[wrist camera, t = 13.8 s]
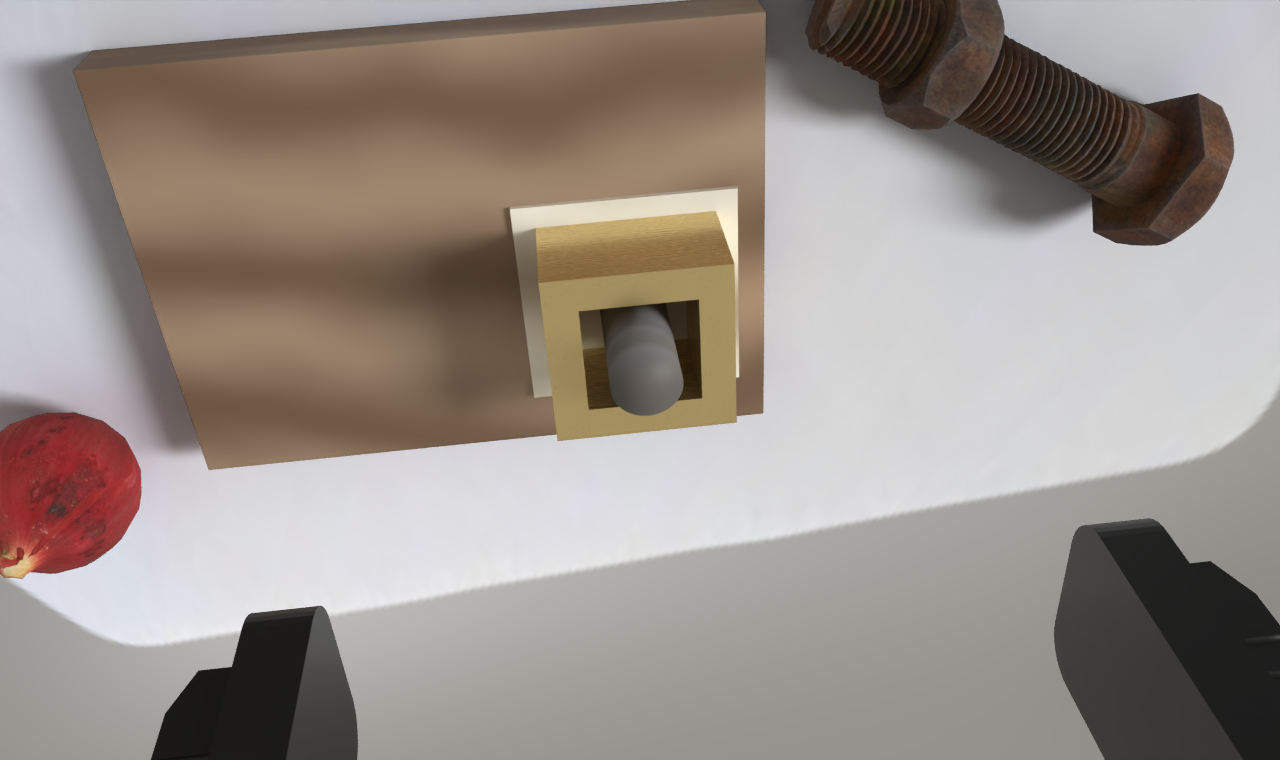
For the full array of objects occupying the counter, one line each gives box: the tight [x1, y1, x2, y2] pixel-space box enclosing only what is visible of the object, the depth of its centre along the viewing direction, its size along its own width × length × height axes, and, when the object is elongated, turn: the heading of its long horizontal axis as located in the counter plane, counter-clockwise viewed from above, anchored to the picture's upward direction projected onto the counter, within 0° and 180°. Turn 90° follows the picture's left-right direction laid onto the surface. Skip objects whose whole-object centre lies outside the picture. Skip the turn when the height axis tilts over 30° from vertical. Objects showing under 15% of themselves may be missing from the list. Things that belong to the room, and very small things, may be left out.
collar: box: [536, 211, 737, 441], centre depth 41 cm, size 6×6×4 cm
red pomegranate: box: [0, 412, 141, 579], centre depth 42 cm, size 6×6×8 cm
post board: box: [73, 0, 766, 470], centre depth 39 cm, size 16×22×8 cm
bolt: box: [806, 0, 1234, 246], centre depth 39 cm, size 6×5×15 cm
